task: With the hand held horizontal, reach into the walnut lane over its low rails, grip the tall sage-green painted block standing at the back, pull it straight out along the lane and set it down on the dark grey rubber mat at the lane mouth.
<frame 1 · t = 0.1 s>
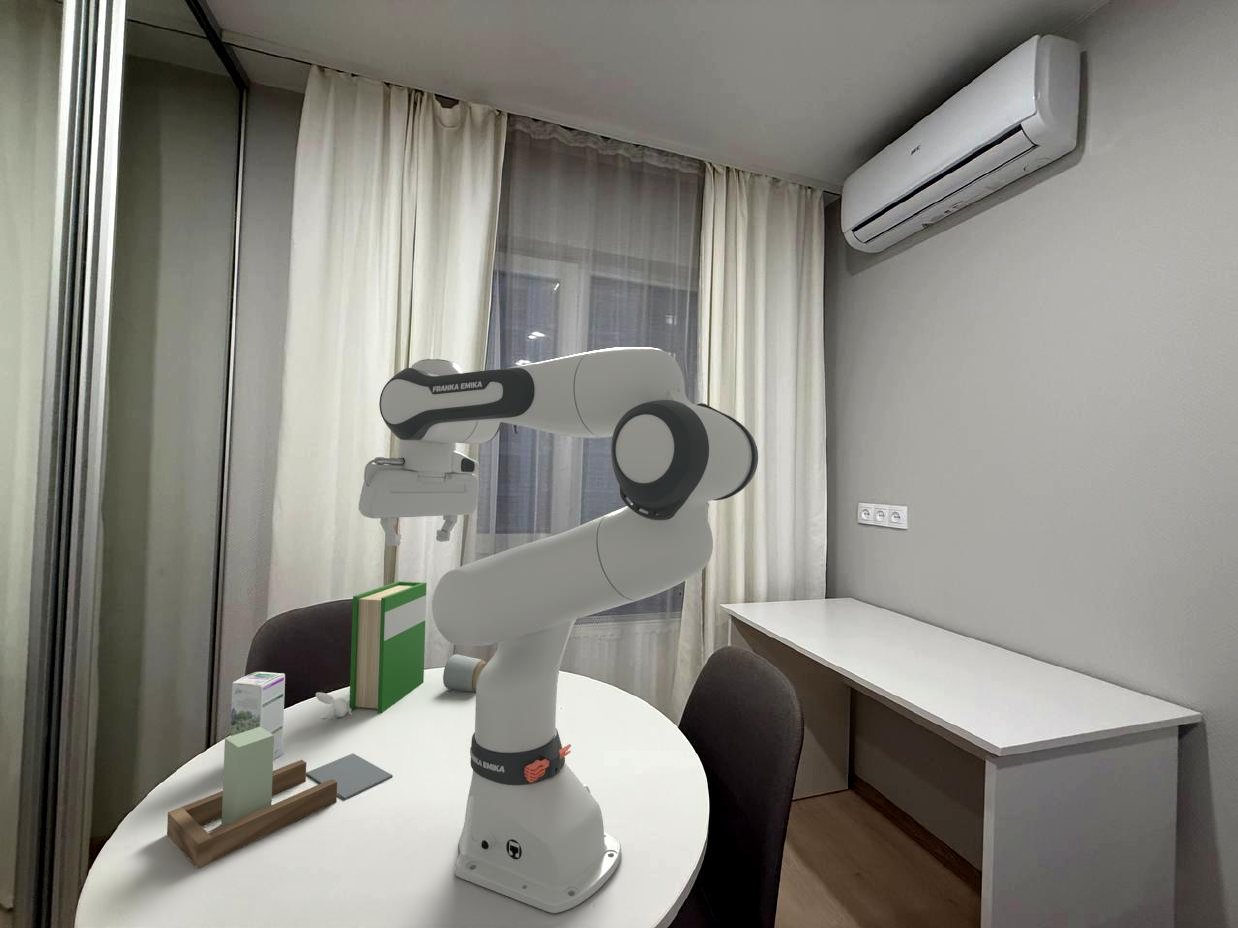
hand: (418, 543, 89), 39 cm above the table, tool pointing down, fingers open, 8 cm apart
sage block: (246, 821, 77), resting in lane
lane: (261, 814, 79), on the table
mat: (349, 775, 90), on the table
rabbit figurine: (331, 720, 110), on the table
ceramic mug: (467, 688, 129), on the table
syrup box: (256, 762, 93), on the table
hardback book: (388, 696, 123), on the table
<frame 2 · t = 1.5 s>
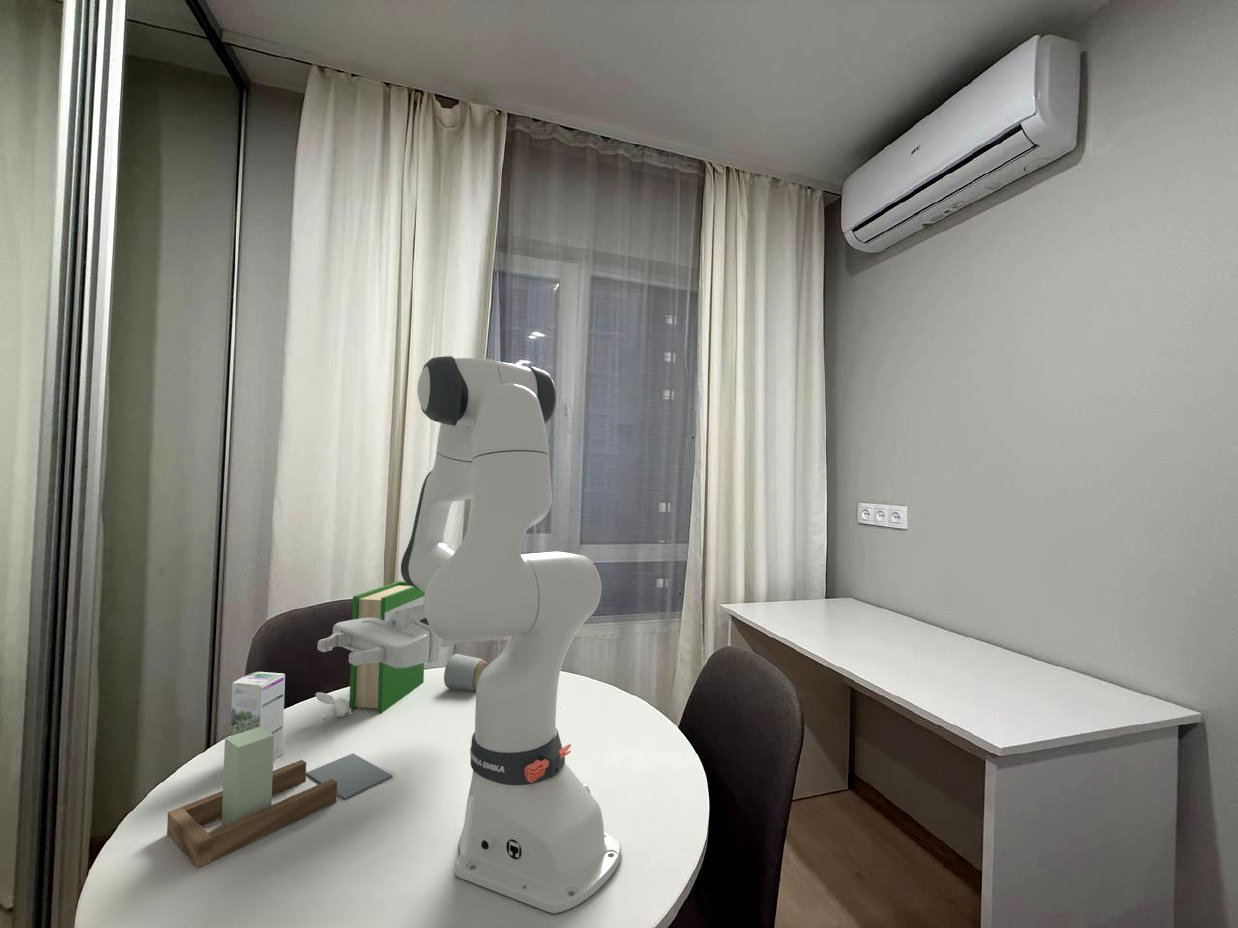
hand: (334, 652, 88), 21 cm above the table, tool horizontal, fingers open, 8 cm apart
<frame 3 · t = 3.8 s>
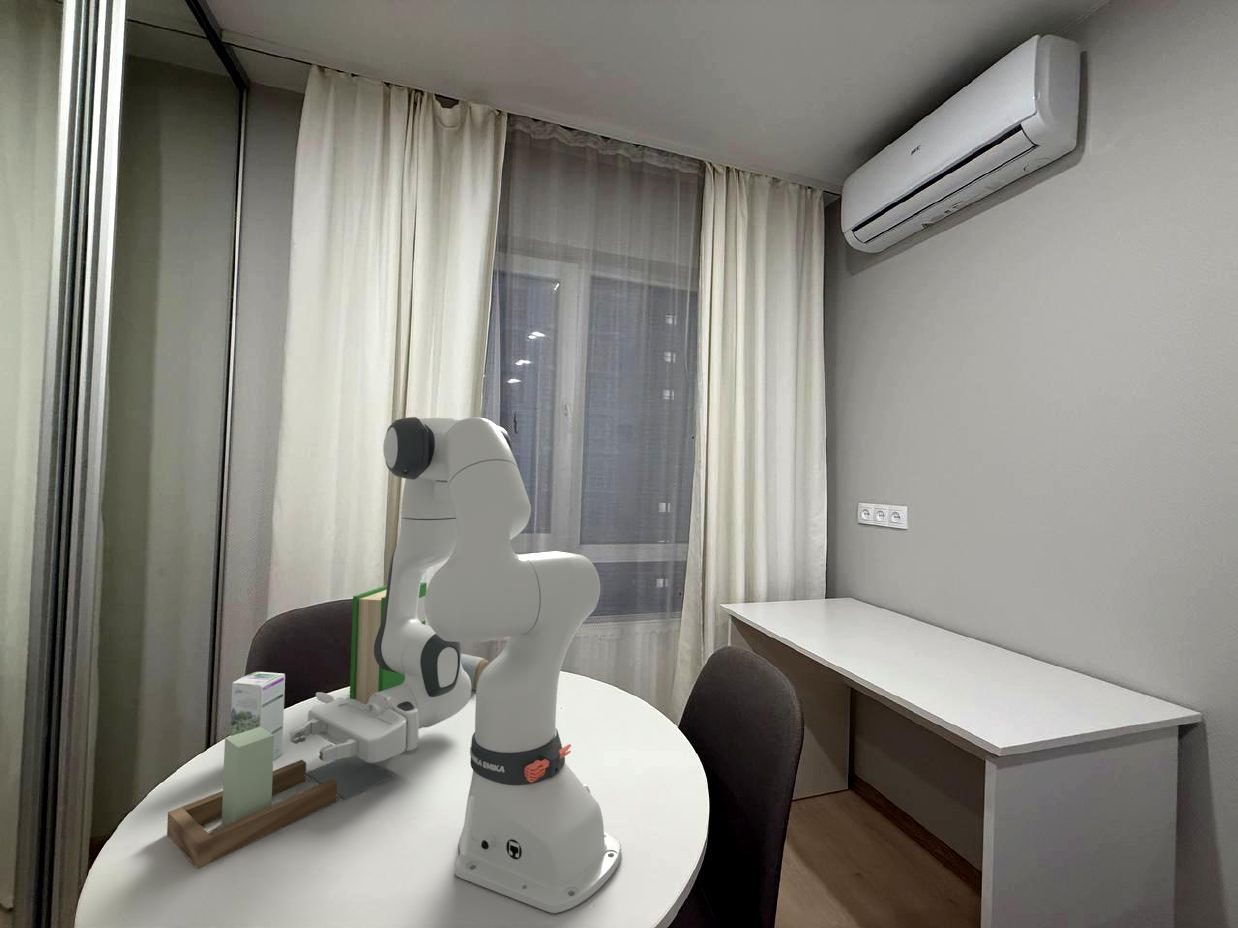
hand: (306, 746, 84), 7 cm above the table, tool horizontal, fingers open, 8 cm apart
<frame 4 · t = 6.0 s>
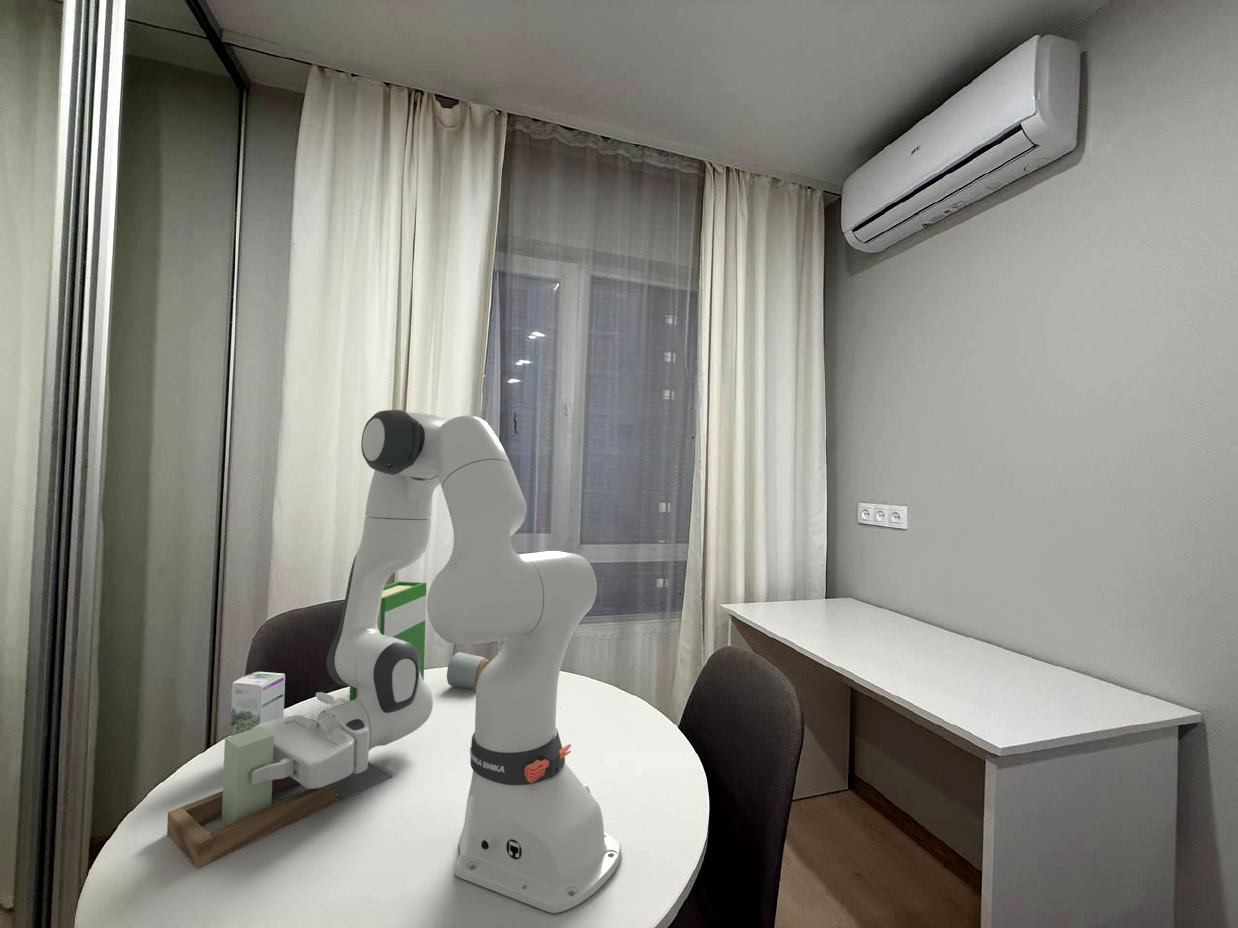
hand: (241, 770, 77), 8 cm above the table, tool horizontal, fingers closed on sage block, 4 cm apart
sage block: (246, 821, 77), resting in lane, touching gripper
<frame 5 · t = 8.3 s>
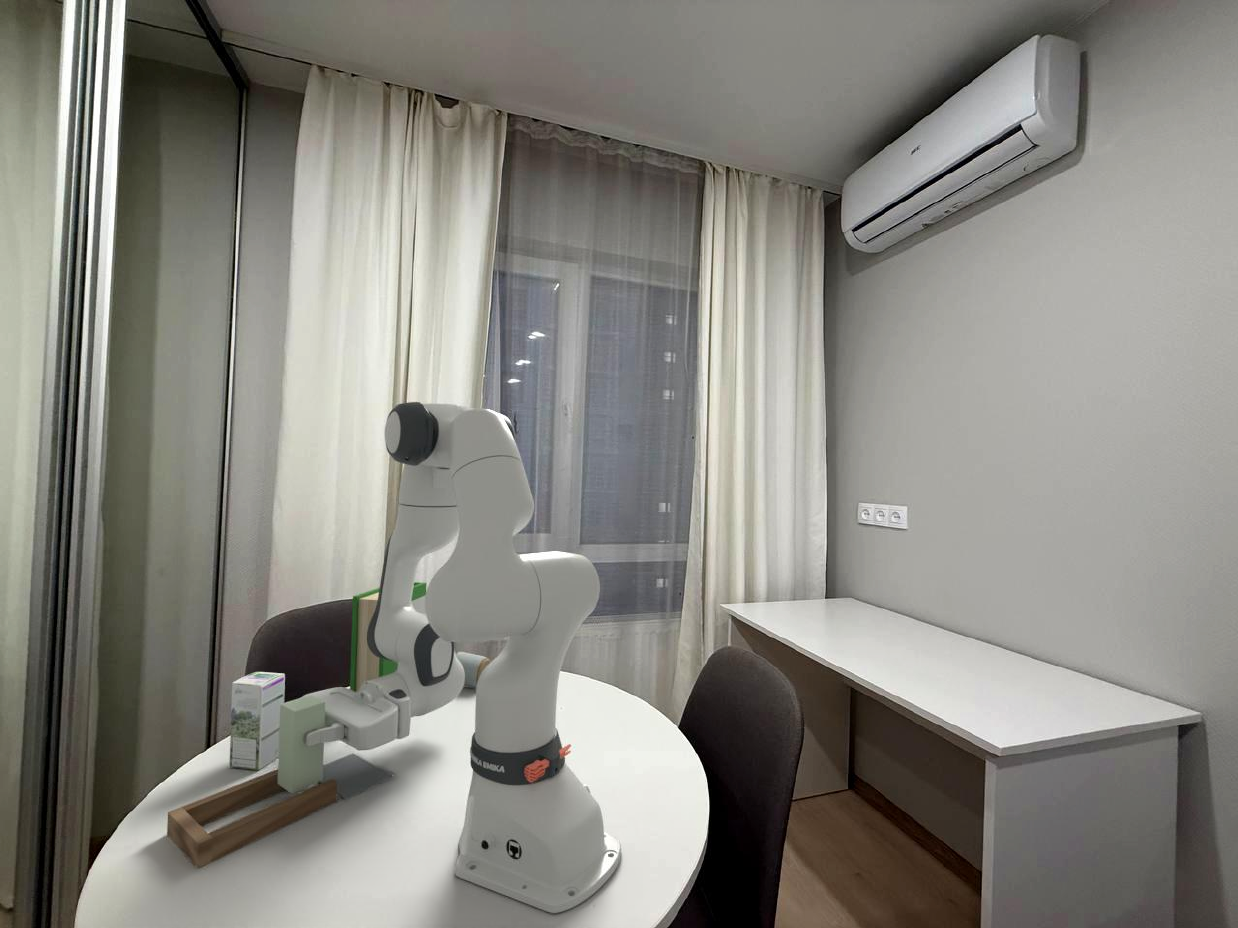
hand: (296, 734, 83), 10 cm above the table, tool horizontal, fingers closed on sage block, 4 cm apart
sage block: (300, 781, 83), point 2 cm above the table, touching gripper
when the fingers open (8 cm above the table, at t = 10.5 s): sage block stays where it is, resting on mat.
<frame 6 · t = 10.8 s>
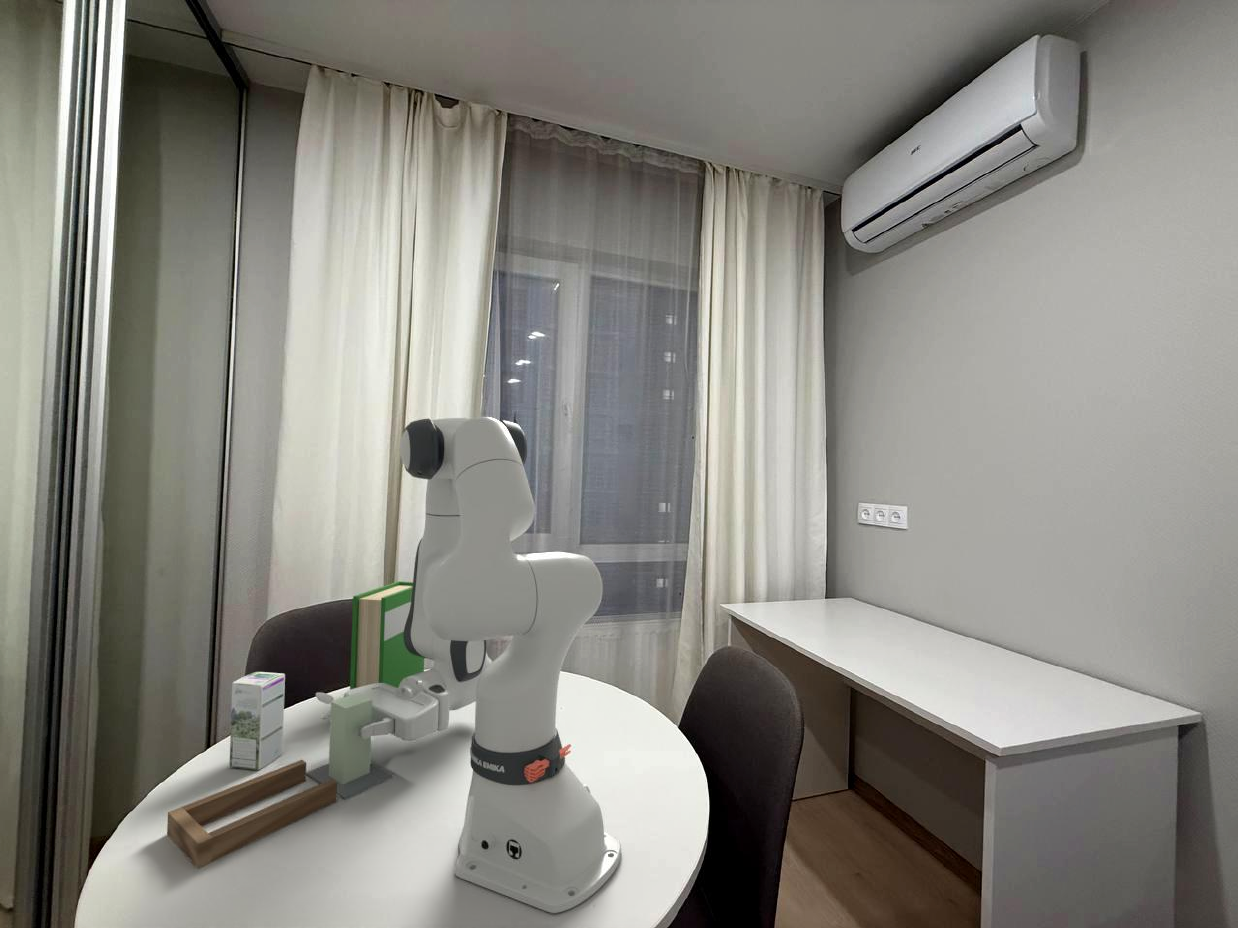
hand: (345, 725, 89), 8 cm above the table, tool horizontal, fingers open, 7 cm apart
sage block: (349, 773, 90), resting on mat
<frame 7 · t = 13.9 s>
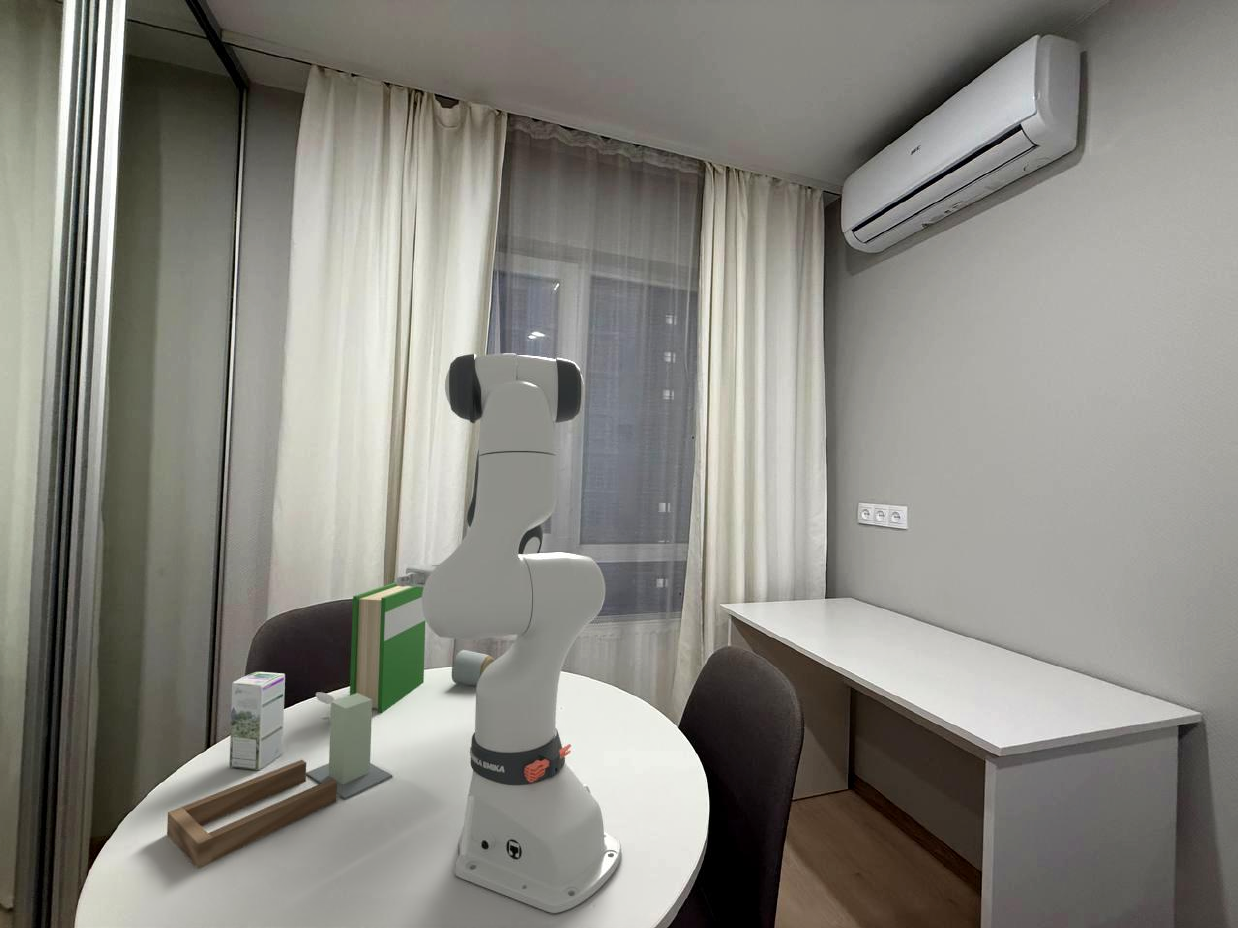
hand: (413, 584, 100), 30 cm above the table, tool horizontal, fingers open, 8 cm apart
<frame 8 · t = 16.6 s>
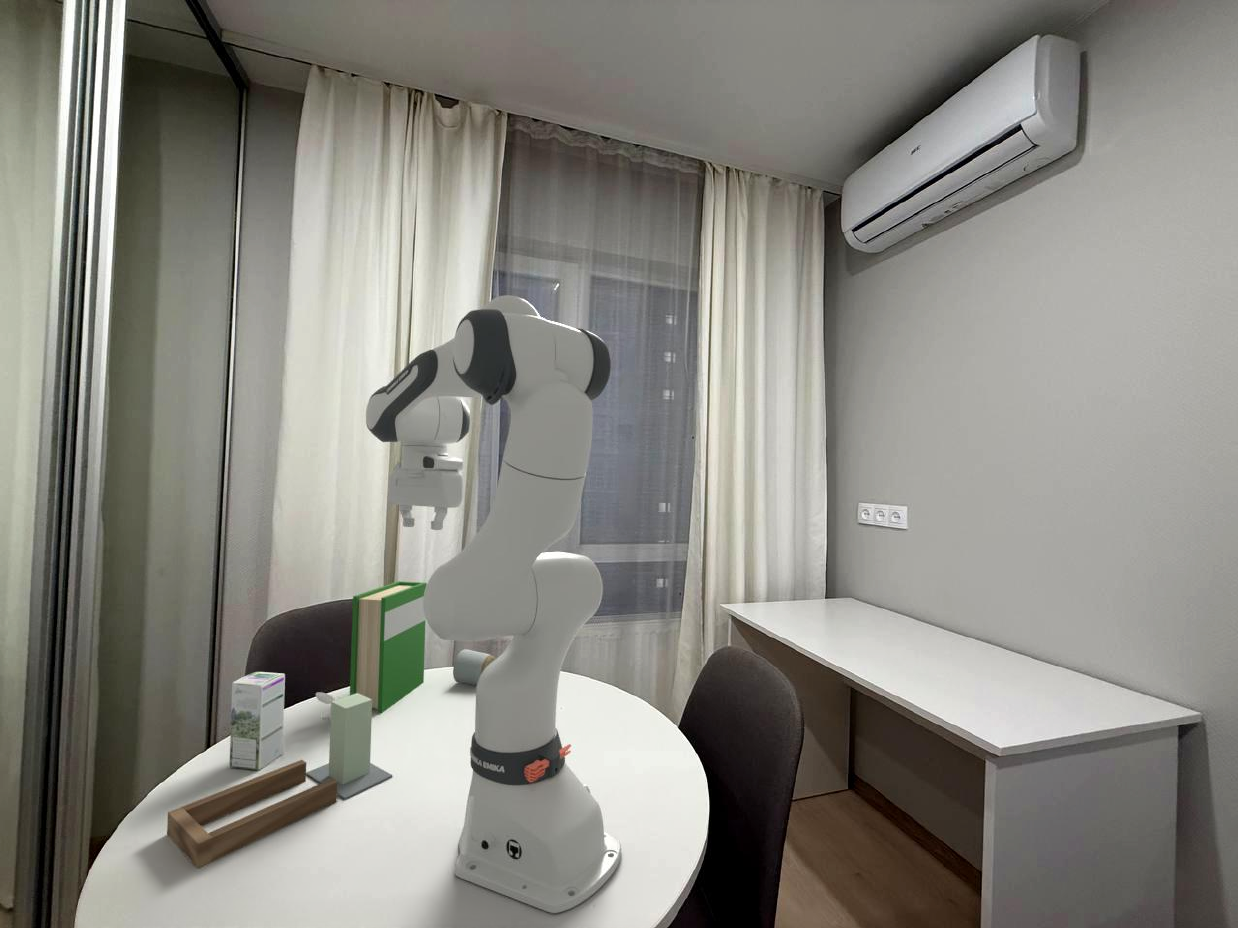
hand: (422, 528, 111), 39 cm above the table, tool pointing down, fingers open, 8 cm apart
at the end: sage block inside the target area (1.5 cm from its centre), resting on mat; sage block tilted 0°; the gripper is holding nothing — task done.
